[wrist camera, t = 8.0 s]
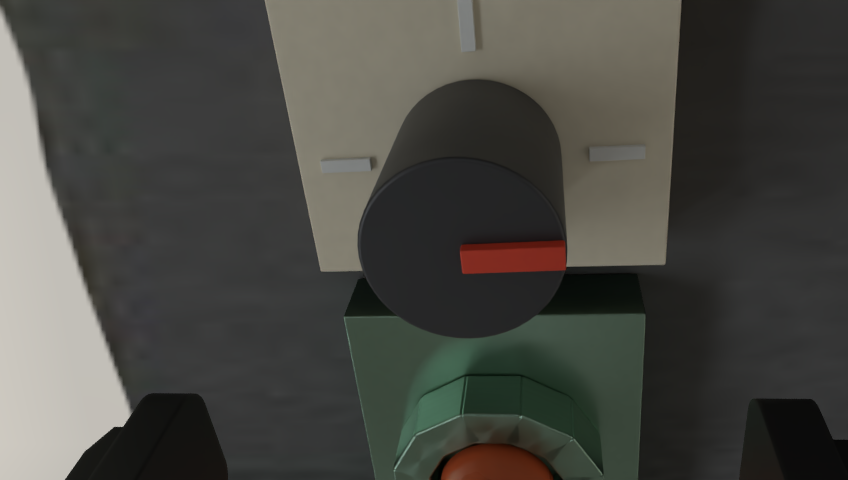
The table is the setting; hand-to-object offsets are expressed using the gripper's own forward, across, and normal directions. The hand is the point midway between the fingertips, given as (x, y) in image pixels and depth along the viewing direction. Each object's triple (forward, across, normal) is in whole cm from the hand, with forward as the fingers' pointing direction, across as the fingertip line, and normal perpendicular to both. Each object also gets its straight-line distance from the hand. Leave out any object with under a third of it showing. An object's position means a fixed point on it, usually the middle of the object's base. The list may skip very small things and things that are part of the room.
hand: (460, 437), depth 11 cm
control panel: (+12, +1, -1) cm, 12 cm away
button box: (+12, +1, +11) cm, 16 cm away
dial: (+10, +1, 0) cm, 10 cm away
